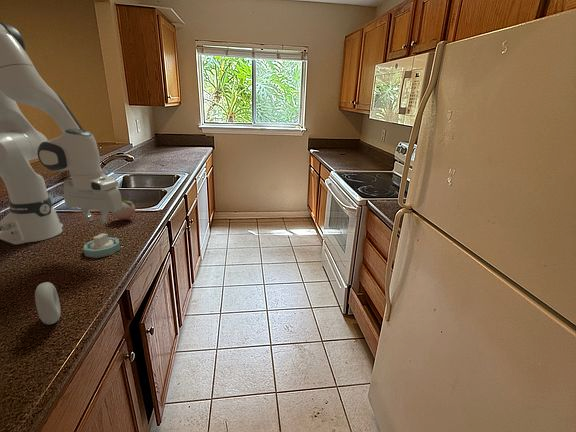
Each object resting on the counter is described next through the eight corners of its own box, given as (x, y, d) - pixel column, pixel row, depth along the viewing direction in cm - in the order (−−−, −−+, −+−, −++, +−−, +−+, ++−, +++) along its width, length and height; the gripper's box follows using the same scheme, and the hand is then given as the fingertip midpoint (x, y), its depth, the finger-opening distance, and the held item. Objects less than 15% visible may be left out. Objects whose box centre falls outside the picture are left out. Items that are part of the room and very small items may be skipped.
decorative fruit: (109, 224, 133) (105, 201, 129) (117, 217, 140) (113, 196, 137) (133, 223, 134) (129, 201, 130) (139, 217, 141) (135, 195, 138)
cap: (86, 250, 108) (83, 238, 106) (102, 242, 114) (99, 230, 113) (103, 253, 106) (100, 241, 105) (118, 244, 113) (116, 233, 111)
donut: (46, 311, 79) (35, 276, 75) (62, 307, 81) (53, 273, 77) (42, 335, 71) (31, 298, 68) (61, 330, 73) (50, 293, 69)
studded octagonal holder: (77, 255, 107) (75, 248, 106) (102, 242, 117) (101, 235, 116) (103, 259, 104) (102, 252, 104) (127, 245, 114) (125, 239, 113)
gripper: (54, 181, 101) (64, 220, 106) (107, 186, 97) (114, 227, 101) (71, 176, 107) (79, 214, 112) (122, 181, 102) (128, 220, 107)
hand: (97, 221), depth 107 cm, fingers open, 4 cm apart
